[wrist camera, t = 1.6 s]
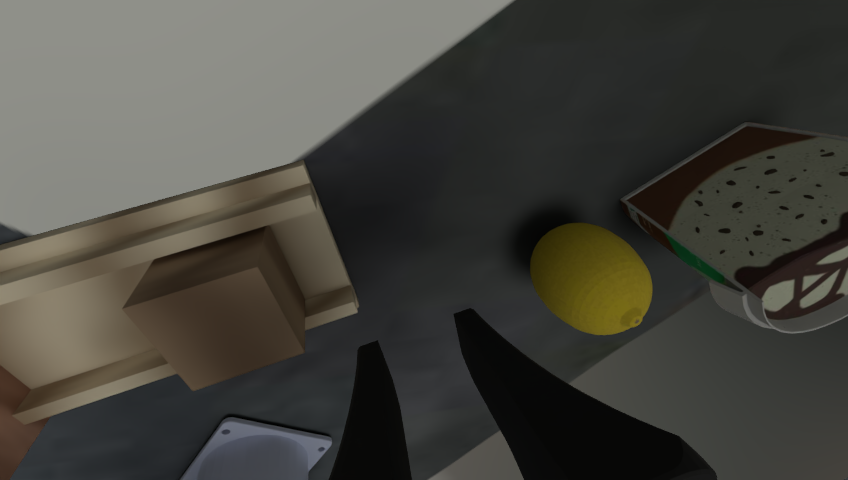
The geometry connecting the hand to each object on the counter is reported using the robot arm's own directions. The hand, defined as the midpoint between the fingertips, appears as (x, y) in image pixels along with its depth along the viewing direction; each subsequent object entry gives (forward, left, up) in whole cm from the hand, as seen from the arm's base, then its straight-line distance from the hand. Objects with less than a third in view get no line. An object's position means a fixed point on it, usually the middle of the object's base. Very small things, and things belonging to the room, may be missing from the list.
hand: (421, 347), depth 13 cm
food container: (+13, -17, -10) cm, 23 cm away
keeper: (-6, +5, -8) cm, 11 cm away
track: (-9, +8, -9) cm, 15 cm away
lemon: (+5, -10, -10) cm, 15 cm away
